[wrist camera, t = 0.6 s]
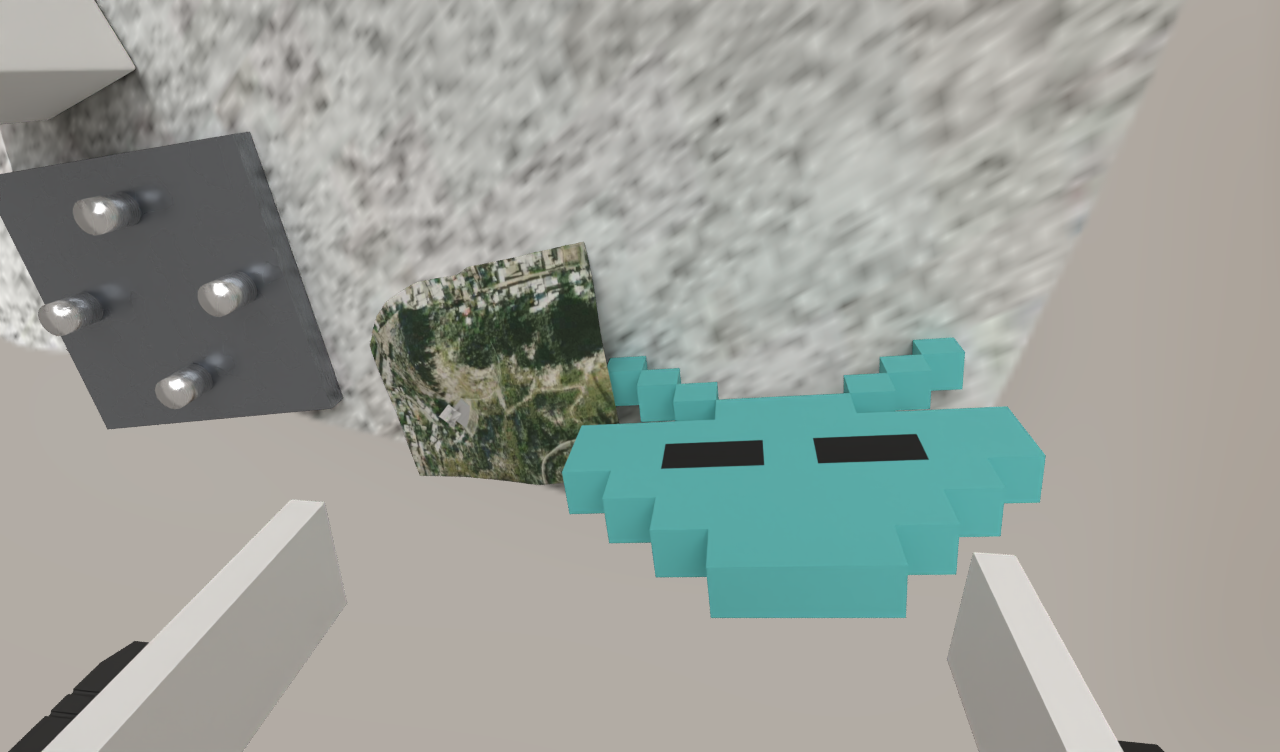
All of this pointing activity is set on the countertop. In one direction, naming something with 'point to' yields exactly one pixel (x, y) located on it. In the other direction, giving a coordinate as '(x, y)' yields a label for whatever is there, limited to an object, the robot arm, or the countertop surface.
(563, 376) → the topographical model
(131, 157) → the plate
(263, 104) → the countertop surface
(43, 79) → the milk carton
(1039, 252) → the countertop surface
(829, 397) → the alien figure
